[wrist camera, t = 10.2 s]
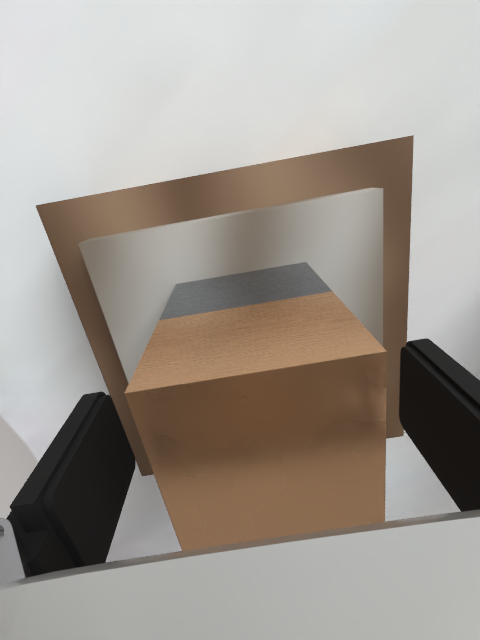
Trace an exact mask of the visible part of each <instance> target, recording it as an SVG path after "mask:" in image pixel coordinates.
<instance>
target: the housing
mask: <svg viewBox="0 0 480 640" xmlns="http://www.w3.org/2000/svg"><path fill="white" fill-rule="evenodd" d="M386 377H387V351H386V350H385V349H384V348H383V347H382V345H381V344H380V343H379V342H378V341H377V340H376V339H375V338H374V337H373V335H372V334H371V333H370V332H369V331H368V330H367V329H366V328H365V327H364V326H363V324H362V323H361V322H360V321H359V320H358V319H357V318H356V317H355V316H354V314H353V313H352V312H351V311H350V310H349V309H348V308H347V307H346V306H345V304H344V303H343V302H342V301H341V300H340V299H339V298H338V297H337V296H336V294H335V293H334V292H333V291H332V290H331V289H330V288H329V287H328V286H327V285H326V283H325V282H324V281H323V280H322V279H321V278H320V277H319V276H318V275H317V273H316V272H315V271H314V270H313V269H312V268H311V267H310V266H309V265H308V263H307V262H302V263H296V264H290V265H285V266H279V267H273V268H267V269H261V270H255V271H249V272H244V273H238V274H232V275H226V276H220V277H214V278H208V279H202V280H197V281H191V282H185V283H179V284H176V285H175V287H174V290H173V292H172V294H171V296H170V298H169V300H168V302H167V304H166V306H165V309H164V311H163V313H162V315H161V317H160V319H159V321H158V323H157V325H156V328H155V330H154V332H153V334H152V336H151V338H150V340H149V342H148V344H147V347H146V349H145V351H144V353H143V355H142V357H141V359H140V361H139V363H138V366H137V368H136V370H135V372H134V374H133V376H132V378H131V380H130V382H129V385H128V387H127V389H126V391H125V393H124V394H125V396H126V399H127V402H128V404H129V407H130V410H131V413H132V415H133V418H134V421H135V424H136V426H137V429H138V432H139V434H140V437H141V440H142V443H143V445H144V448H145V451H146V453H147V456H148V459H149V462H150V464H151V467H152V470H153V473H154V475H155V478H156V481H157V483H158V486H159V489H160V492H161V494H162V497H163V500H164V502H165V505H166V508H167V511H168V513H169V516H170V519H171V522H172V524H173V527H174V530H175V532H176V535H177V538H178V541H179V543H180V546H181V549H182V551H186V550H193V549H199V548H206V547H213V546H219V545H226V544H233V543H240V542H247V541H254V540H261V539H267V538H274V537H281V536H288V535H295V534H302V533H309V532H316V531H323V530H330V529H337V528H344V527H351V526H359V525H366V524H373V523H380V522H385V465H386Z"/></svg>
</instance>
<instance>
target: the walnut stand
mask: <svg viewBox="0 0 480 640" xmlns="http://www.w3.org/2000/svg"><path fill="white" fill-rule="evenodd" d="M412 165H413V136H408V137H402V138H397V139H392V140H386V141H381V142H375V143H370V144H365V145H359V146H354V147H349V148H343V149H338V150H332V151H327V152H322V153H316V154H311V155H305V156H300V157H295V158H289V159H284V160H279V161H273V162H268V163H262V164H257V165H252V166H246V167H241V168H235V169H230V170H225V171H219V172H214V173H209V174H203V175H198V176H192V177H187V178H182V179H176V180H171V181H165V182H160V183H155V184H149V185H144V186H139V187H133V188H128V189H122V190H117V191H112V192H106V193H101V194H95V195H90V196H85V197H79V198H74V199H69V200H63V201H58V202H52V203H47V204H42V205H36V208H37V210H38V213H39V215H40V218H41V220H42V223H43V226H44V228H45V231H46V233H47V236H48V238H49V241H50V243H51V246H52V248H53V251H54V254H55V256H56V259H57V261H58V264H59V266H60V269H61V271H62V274H63V276H64V279H65V281H66V284H67V287H68V289H69V292H70V294H71V297H72V299H73V302H74V304H75V307H76V309H77V312H78V315H79V317H80V320H81V322H82V325H83V327H84V330H85V332H86V335H87V337H88V340H89V342H90V345H91V348H92V350H93V353H94V355H95V358H96V360H97V363H98V365H99V368H100V370H101V373H102V375H103V378H104V381H105V383H106V386H107V388H108V391H109V393H110V396H111V398H112V400H113V403H114V405H115V408H116V410H117V413H118V415H119V418H120V420H121V423H122V425H123V428H124V431H125V433H126V436H127V438H128V441H129V443H130V446H131V448H132V451H133V453H134V456H135V459H136V462H137V464H138V467H139V470H140V472H141V475H142V476H146V475H152V474H154V473H153V470H152V467H151V464H150V462H149V459H148V456H147V453H146V451H145V448H144V445H143V443H142V440H141V437H140V434H139V432H138V429H137V426H136V424H135V421H134V418H133V415H132V413H131V410H130V407H129V404H128V402H127V399H126V396H125V394H124V393H125V391H126V389H127V387H128V385H129V382H130V380H131V378H132V376H133V374H134V372H135V370H136V368H137V366H138V363H139V361H140V359H141V357H142V355H143V353H144V351H145V349H146V347H147V344H148V342H149V340H150V338H151V336H152V334H153V332H154V330H155V328H156V325H157V323H158V321H159V319H160V317H161V315H162V313H163V311H164V309H165V306H166V304H167V302H168V300H169V298H170V296H171V294H172V292H173V290H174V287H175V285H176V284H179V283H185V282H191V281H197V280H202V279H208V278H214V277H220V276H226V275H232V274H238V273H244V272H249V271H255V270H261V269H267V268H273V267H279V266H285V265H290V264H296V263H302V262H307V263H308V265H309V266H310V267H311V268H312V269H313V270H314V271H315V272H316V273H317V275H318V276H319V277H320V278H321V279H322V280H323V281H324V282H325V283H326V285H327V286H328V287H329V288H330V289H331V290H332V291H333V292H334V293H335V294H336V296H337V297H338V298H339V299H340V300H341V301H342V302H343V303H344V304H345V306H346V307H347V308H348V309H349V310H350V311H351V312H352V313H353V314H354V316H355V317H356V318H357V319H358V320H359V321H360V322H361V323H362V324H363V326H364V327H365V328H366V329H367V330H368V331H369V332H370V333H371V334H372V335H373V337H374V338H375V339H376V340H377V341H378V342H379V343H380V344H381V345H382V347H383V348H384V349H385V350H386V351H387V377H386V438H393V437H399V436H403V433H404V428H403V427H402V425H401V423H400V419H399V389H400V352H401V348H402V347H405V346H406V343H407V314H408V284H409V254H410V225H411V195H412Z"/></svg>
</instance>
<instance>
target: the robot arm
mask: <svg viewBox="0 0 480 640" xmlns="http://www.w3.org/2000/svg"><path fill="white" fill-rule="evenodd" d="M399 419H400V423H401V425H402V427H403V428H404V430H405V431H406V433H407V434H408V436H409V437H410V438H411V440H412V441H413V443H414V444H415V446H416V447H417V449H418V450H419V451H420V453H421V454H422V456H423V457H424V459H425V460H426V461H427V463H428V464H429V466H430V467H431V469H432V470H433V472H434V473H435V474H436V476H437V477H438V479H439V480H440V482H441V483H442V485H443V486H444V487H445V489H446V490H447V492H448V493H449V495H450V496H451V498H452V499H453V500H454V502H455V503H456V505H457V506H458V508H459V509H460V510H461V512H455V513H447V514H439V515H431V516H423V517H416V518H409V519H402V520H395V521H387V522H380V523H373V524H366V525H359V526H351V527H344V528H337V529H330V530H323V531H316V532H309V533H302V534H295V535H288V536H281V537H274V538H267V539H261V540H254V541H247V542H240V543H233V544H226V545H219V546H213V547H206V548H199V549H193V550H186V551H179V552H173V553H166V554H160V555H153V556H146V557H140V558H133V559H127V560H120V561H114V562H108V563H105V561H106V558H107V555H108V552H109V549H110V546H111V542H112V539H113V536H114V533H115V530H116V527H117V523H118V520H119V517H120V514H121V511H122V508H123V504H124V501H125V498H126V495H127V492H128V489H129V485H130V482H131V479H132V476H133V473H134V470H135V456H134V453H133V451H132V448H131V446H130V443H129V441H128V438H127V436H126V433H125V431H124V428H123V425H122V423H121V420H120V418H119V415H118V413H117V410H116V408H115V405H114V403H113V400H112V398H111V396H110V395H106V394H105V393H104V392H97V393H90V394H85V395H83V396H82V397H81V399H80V400H79V402H78V403H77V405H76V406H75V408H74V410H73V411H72V413H71V414H70V416H69V417H68V419H67V420H66V422H65V423H64V425H63V426H62V428H61V429H60V431H59V432H58V434H57V435H56V437H55V438H54V440H53V441H52V443H51V444H50V446H49V448H48V449H47V451H46V452H45V454H44V455H43V457H42V458H41V460H40V461H39V463H38V464H37V466H36V467H35V469H34V471H33V472H32V474H31V475H30V477H29V478H28V479H27V481H26V482H25V484H24V486H23V487H22V489H21V490H20V492H19V493H18V495H17V496H16V498H15V499H14V501H13V502H12V504H11V505H10V508H11V510H12V511H11V512H10V514H9V516H8V517H7V519H4V518H0V640H480V380H478V379H477V378H476V377H475V376H473V375H472V374H471V373H470V372H468V371H467V370H466V369H465V368H464V367H462V366H461V365H460V364H459V363H457V362H456V361H455V360H454V359H453V358H451V357H450V356H449V355H448V354H446V353H445V352H444V351H443V350H442V349H440V348H439V347H438V346H437V345H435V344H434V343H433V342H432V341H430V340H429V339H420V340H414V341H408V342H407V343H406V346H405V347H402V348H401V352H400V389H399Z"/></svg>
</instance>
